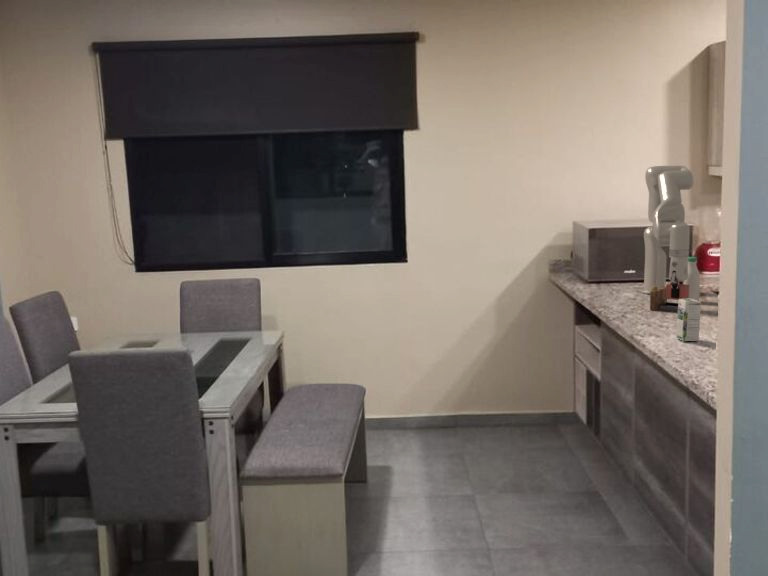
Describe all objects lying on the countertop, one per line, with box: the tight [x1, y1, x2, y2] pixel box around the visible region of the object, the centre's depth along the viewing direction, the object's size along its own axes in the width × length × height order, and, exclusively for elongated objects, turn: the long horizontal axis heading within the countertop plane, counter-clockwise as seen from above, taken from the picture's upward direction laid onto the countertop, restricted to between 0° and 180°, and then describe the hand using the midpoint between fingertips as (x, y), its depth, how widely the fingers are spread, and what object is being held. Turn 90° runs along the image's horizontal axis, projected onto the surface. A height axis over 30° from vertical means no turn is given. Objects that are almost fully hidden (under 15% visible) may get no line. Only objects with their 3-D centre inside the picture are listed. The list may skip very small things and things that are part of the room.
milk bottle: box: [684, 256, 701, 301], centre depth 331 cm, size 8×8×20 cm
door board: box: [649, 286, 668, 312], centre depth 321 cm, size 15×2×10 cm, turn 141°
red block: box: [665, 281, 689, 301], centre depth 316 cm, size 4×8×7 cm, turn 51°
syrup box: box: [675, 299, 702, 342], centre depth 264 cm, size 6×6×14 cm
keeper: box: [657, 301, 678, 313], centre depth 317 cm, size 9×12×2 cm
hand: (677, 296), depth 316 cm, fingers closed on red block, 4 cm apart
